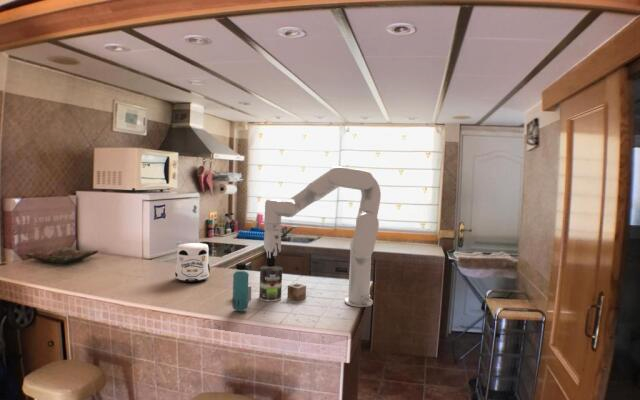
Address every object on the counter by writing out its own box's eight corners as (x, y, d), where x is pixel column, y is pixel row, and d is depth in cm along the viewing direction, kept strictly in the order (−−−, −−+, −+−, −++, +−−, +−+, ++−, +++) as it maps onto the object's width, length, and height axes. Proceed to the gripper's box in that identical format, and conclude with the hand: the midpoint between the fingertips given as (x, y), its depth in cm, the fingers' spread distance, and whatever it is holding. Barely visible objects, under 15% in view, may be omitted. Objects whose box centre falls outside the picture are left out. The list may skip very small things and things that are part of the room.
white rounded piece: (187, 286, 190) (188, 250, 189) (168, 279, 200) (168, 245, 199) (216, 279, 204) (217, 246, 202) (196, 273, 214) (197, 241, 213)
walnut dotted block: (305, 298, 179) (306, 285, 179) (296, 301, 175) (297, 287, 174) (296, 295, 183) (296, 282, 183) (287, 298, 178) (287, 285, 178)
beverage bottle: (249, 308, 163) (250, 261, 161) (246, 314, 156) (248, 265, 155) (233, 308, 162) (234, 261, 161) (230, 313, 156) (231, 265, 154)
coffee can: (283, 301, 174) (284, 270, 173) (260, 302, 171) (261, 270, 170) (279, 294, 184) (280, 264, 183) (257, 294, 181) (258, 265, 180)
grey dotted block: (250, 299, 174) (251, 286, 174) (237, 300, 173) (237, 286, 172) (249, 295, 180) (250, 282, 180) (236, 296, 179) (237, 282, 178)
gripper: (286, 228, 171) (285, 269, 172) (273, 224, 184) (272, 262, 185) (271, 229, 167) (269, 271, 168) (258, 224, 180) (257, 263, 181)
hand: (270, 266), depth 177 cm, fingers closed
